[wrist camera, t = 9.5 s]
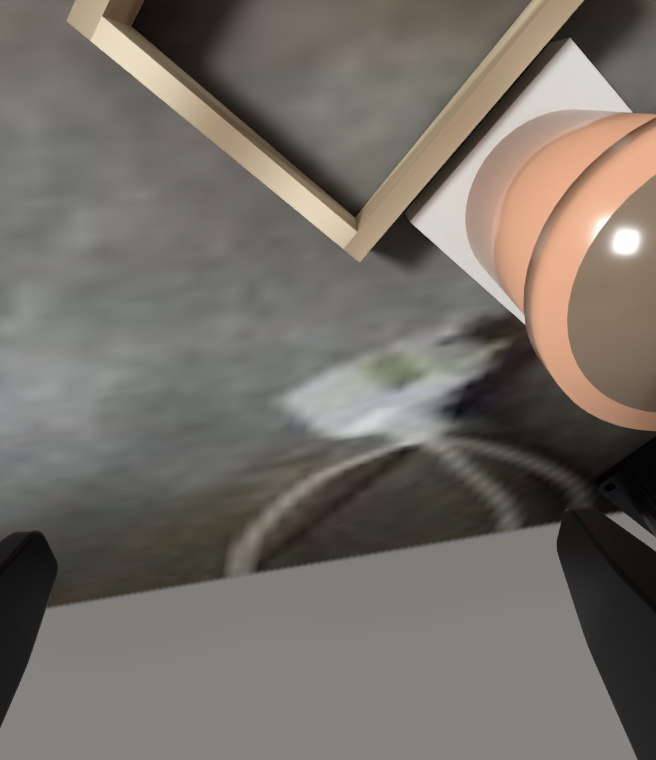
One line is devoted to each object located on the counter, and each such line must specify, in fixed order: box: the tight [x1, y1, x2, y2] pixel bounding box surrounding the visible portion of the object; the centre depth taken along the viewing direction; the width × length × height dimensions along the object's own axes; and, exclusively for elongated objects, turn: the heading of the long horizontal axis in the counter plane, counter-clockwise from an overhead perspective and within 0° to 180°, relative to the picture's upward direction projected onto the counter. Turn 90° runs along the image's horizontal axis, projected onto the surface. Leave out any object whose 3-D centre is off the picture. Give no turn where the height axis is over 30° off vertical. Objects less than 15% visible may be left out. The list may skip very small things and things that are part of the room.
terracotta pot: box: [465, 109, 656, 431], centre depth 13 cm, size 6×6×8 cm
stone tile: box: [404, 38, 632, 324], centre depth 17 cm, size 6×6×2 cm
